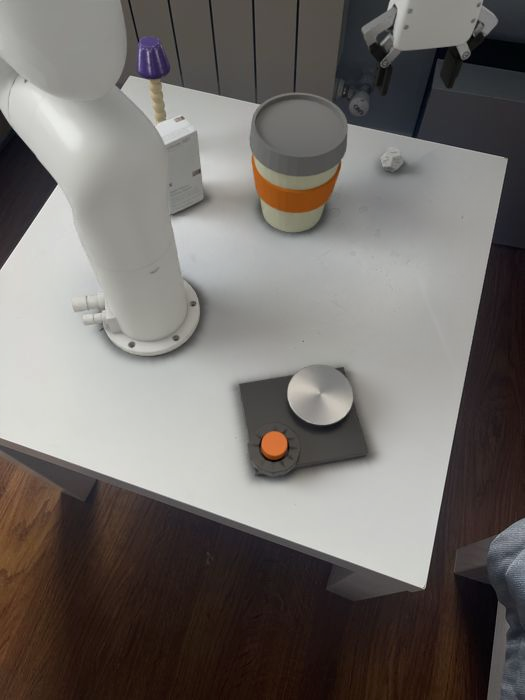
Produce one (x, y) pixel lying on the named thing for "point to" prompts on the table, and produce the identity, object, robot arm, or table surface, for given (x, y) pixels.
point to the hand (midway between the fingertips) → (413, 85)
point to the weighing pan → (320, 395)
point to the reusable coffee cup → (296, 157)
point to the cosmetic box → (182, 163)
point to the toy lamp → (153, 71)
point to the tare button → (274, 445)
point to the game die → (391, 159)
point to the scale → (294, 430)
